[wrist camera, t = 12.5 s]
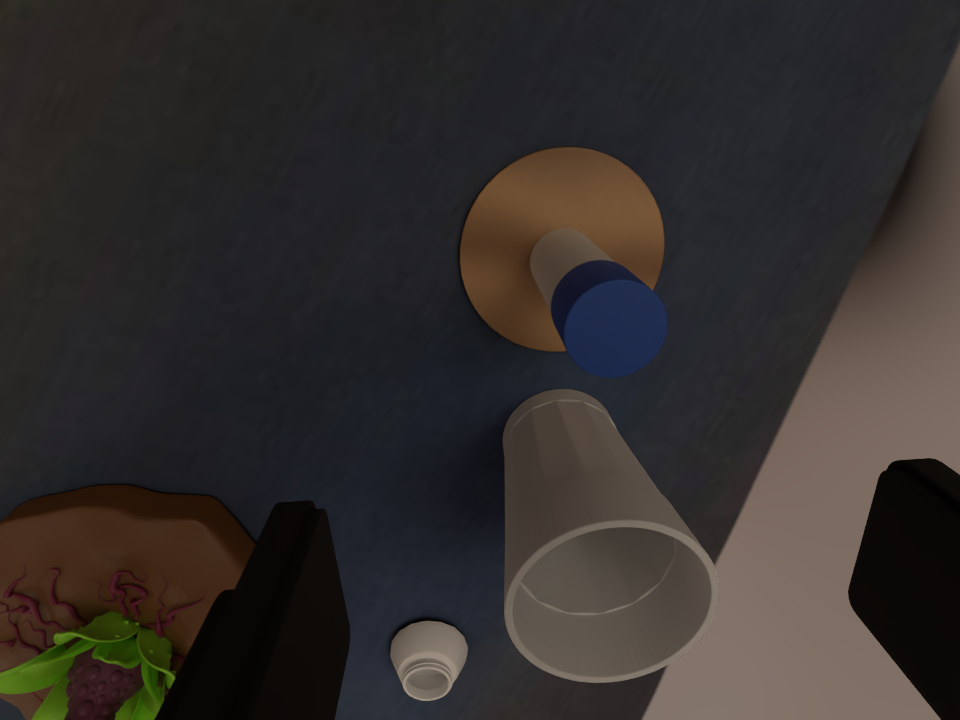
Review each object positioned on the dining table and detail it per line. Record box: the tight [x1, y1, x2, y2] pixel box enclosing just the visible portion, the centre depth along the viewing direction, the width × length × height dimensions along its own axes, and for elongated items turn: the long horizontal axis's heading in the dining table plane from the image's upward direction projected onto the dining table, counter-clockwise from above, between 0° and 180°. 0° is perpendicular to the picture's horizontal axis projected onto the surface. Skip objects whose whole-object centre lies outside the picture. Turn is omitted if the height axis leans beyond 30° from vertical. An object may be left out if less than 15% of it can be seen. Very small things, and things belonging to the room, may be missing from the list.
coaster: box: [460, 147, 664, 351], centre depth 27 cm, size 10×10×1 cm
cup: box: [503, 389, 719, 683], centre depth 26 cm, size 8×8×12 cm
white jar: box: [390, 621, 468, 701], centre depth 36 cm, size 5×3×5 cm
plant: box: [0, 485, 256, 720], centre depth 30 cm, size 20×20×11 cm
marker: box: [530, 228, 668, 378], centre depth 23 cm, size 3×3×10 cm
